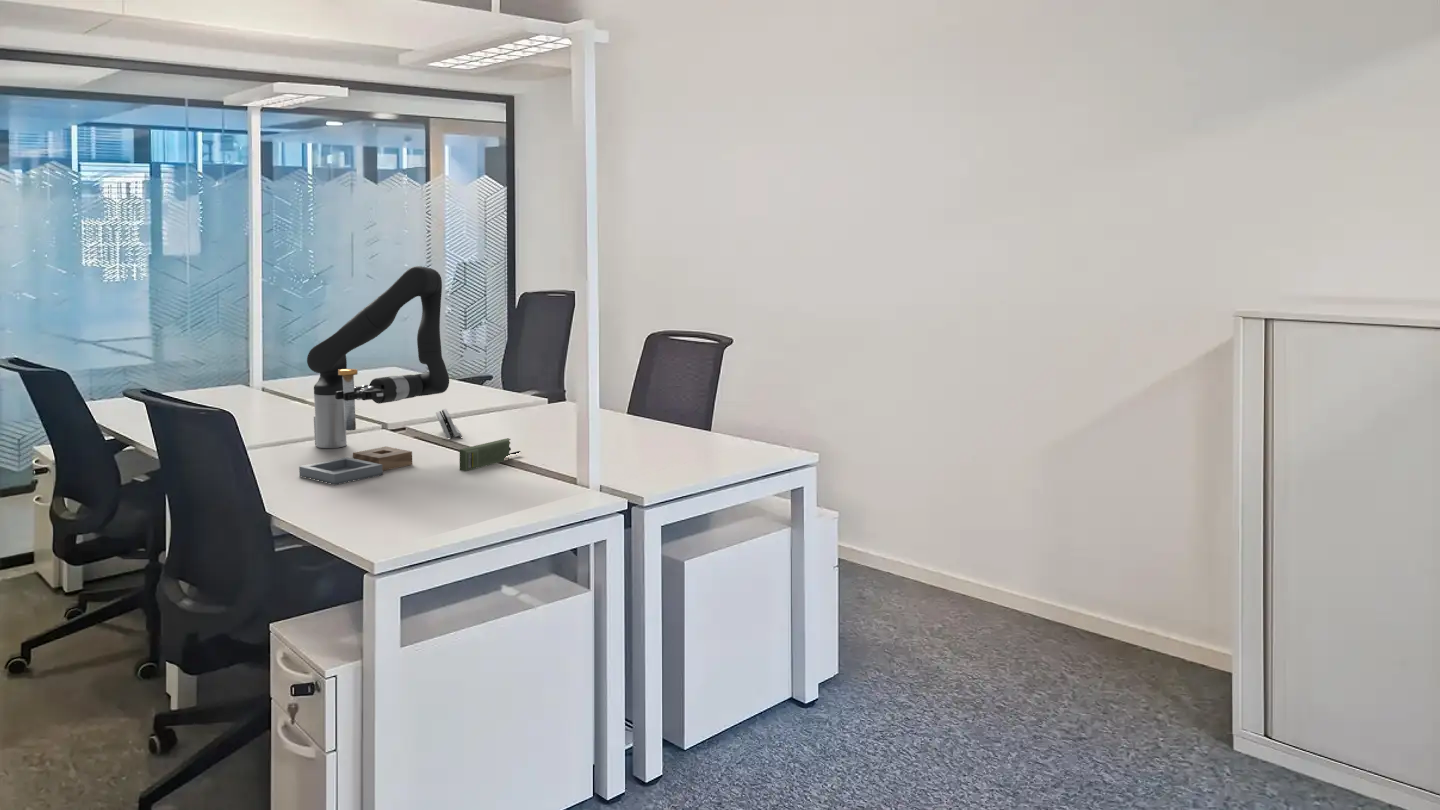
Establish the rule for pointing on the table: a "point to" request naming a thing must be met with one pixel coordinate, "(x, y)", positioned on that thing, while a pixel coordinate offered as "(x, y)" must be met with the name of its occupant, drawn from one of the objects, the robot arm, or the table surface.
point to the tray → (341, 470)
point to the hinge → (449, 426)
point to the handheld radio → (484, 454)
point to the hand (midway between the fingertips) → (340, 396)
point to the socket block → (386, 457)
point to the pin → (350, 404)
